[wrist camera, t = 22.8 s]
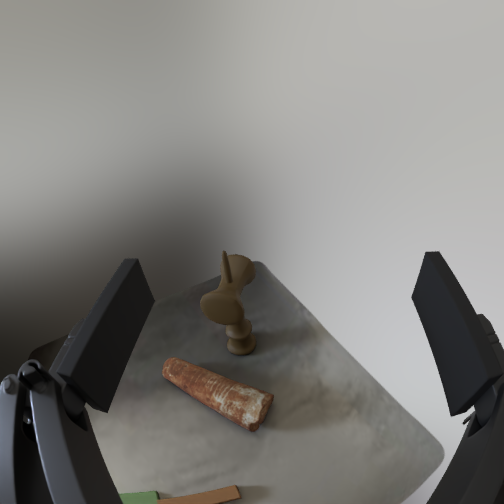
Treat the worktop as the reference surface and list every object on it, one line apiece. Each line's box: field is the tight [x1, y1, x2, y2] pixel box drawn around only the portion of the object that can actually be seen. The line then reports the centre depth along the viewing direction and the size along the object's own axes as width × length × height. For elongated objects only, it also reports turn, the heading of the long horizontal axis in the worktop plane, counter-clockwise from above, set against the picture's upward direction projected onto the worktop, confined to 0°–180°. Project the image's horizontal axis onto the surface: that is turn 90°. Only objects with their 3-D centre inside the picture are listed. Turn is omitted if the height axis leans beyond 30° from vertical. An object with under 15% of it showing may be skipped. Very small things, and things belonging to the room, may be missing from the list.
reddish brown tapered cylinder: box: [162, 357, 274, 432], centre depth 38 cm, size 6×19×6 cm, turn 58°
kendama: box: [200, 251, 256, 355], centre depth 42 cm, size 6×10×20 cm, turn 167°
